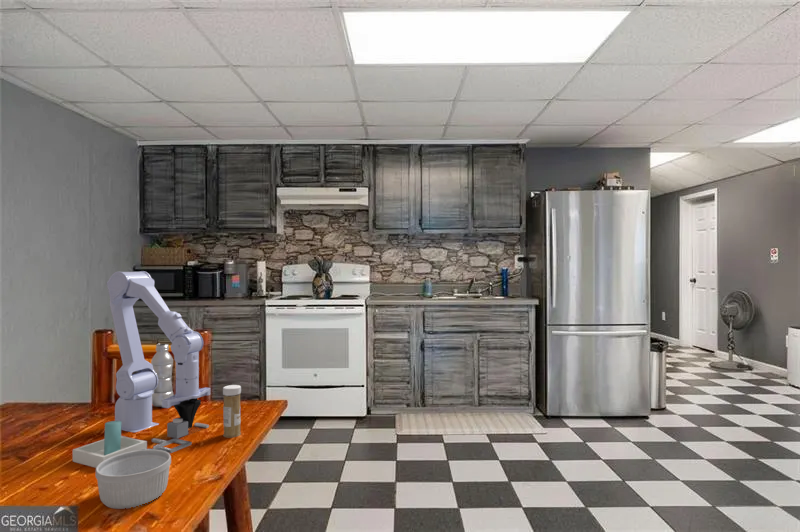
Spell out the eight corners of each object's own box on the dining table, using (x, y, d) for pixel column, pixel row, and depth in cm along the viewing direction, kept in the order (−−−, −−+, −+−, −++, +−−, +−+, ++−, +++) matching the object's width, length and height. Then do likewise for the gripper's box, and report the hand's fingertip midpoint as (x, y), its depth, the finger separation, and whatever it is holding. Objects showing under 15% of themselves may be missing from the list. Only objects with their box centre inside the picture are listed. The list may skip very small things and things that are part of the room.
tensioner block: (122, 463, 114) (122, 452, 114) (173, 442, 127) (173, 433, 127) (141, 467, 112) (141, 457, 112) (191, 446, 125) (191, 437, 125)
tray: (72, 461, 115) (72, 449, 115) (117, 445, 125) (116, 434, 125) (103, 469, 111) (103, 457, 111) (146, 452, 121) (146, 441, 121)
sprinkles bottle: (243, 437, 131) (243, 386, 131) (225, 440, 129) (225, 389, 129) (238, 432, 135) (238, 383, 135) (221, 435, 133) (221, 385, 133)
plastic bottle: (178, 404, 162) (178, 343, 162) (162, 410, 156) (162, 346, 156) (162, 402, 164) (162, 342, 164) (146, 408, 158) (146, 345, 158)
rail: (151, 443, 127) (151, 439, 127) (196, 426, 140) (196, 422, 140) (164, 446, 125) (164, 441, 125) (208, 429, 138) (208, 424, 138)
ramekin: (118, 520, 89) (118, 481, 89) (81, 501, 96) (81, 465, 96) (184, 491, 100) (184, 457, 100) (147, 476, 107) (147, 444, 107)
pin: (100, 455, 117) (101, 423, 117) (113, 451, 120) (114, 420, 120) (111, 457, 116) (112, 425, 116) (123, 453, 119) (124, 421, 119)
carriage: (167, 436, 130) (167, 420, 130) (178, 432, 134) (178, 416, 134) (177, 438, 129) (177, 422, 129) (188, 434, 132) (188, 418, 132)
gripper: (175, 385, 126) (175, 438, 126) (218, 373, 139) (218, 421, 139) (156, 382, 129) (156, 434, 129) (200, 371, 142) (200, 418, 142)
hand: (187, 427), depth 134 cm, fingers closed
